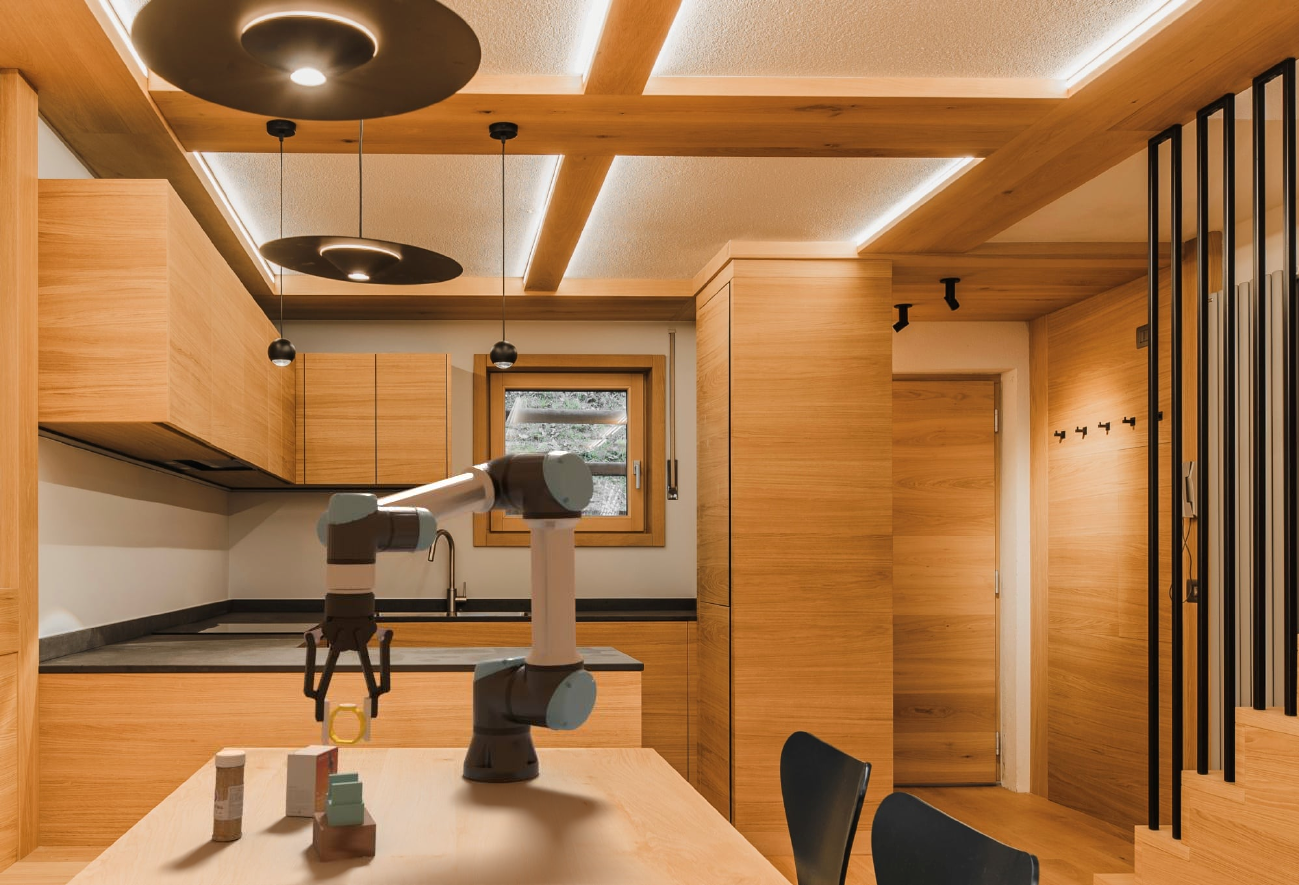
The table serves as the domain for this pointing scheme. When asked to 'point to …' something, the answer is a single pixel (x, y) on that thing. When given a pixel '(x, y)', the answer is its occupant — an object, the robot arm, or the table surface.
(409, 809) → the table surface
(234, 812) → the sprinkles bottle
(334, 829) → the bottom block
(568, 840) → the table surface
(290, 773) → the small box
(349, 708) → the watch
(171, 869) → the table surface
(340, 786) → the top block
